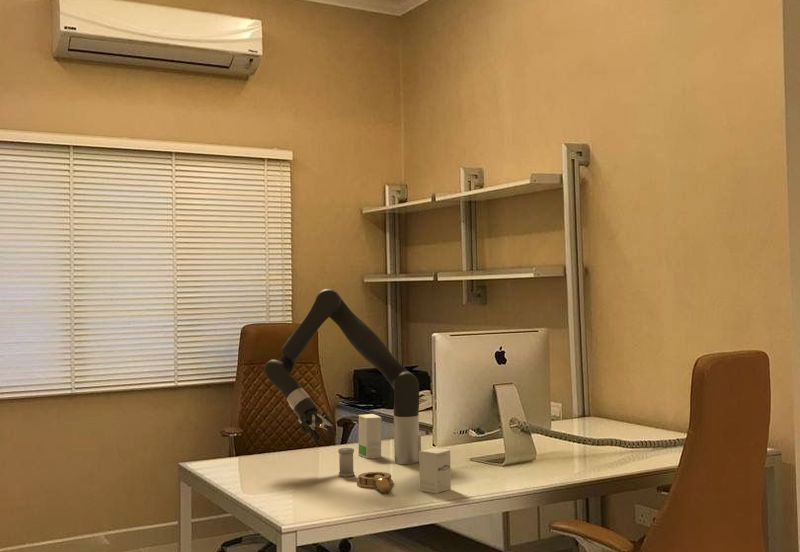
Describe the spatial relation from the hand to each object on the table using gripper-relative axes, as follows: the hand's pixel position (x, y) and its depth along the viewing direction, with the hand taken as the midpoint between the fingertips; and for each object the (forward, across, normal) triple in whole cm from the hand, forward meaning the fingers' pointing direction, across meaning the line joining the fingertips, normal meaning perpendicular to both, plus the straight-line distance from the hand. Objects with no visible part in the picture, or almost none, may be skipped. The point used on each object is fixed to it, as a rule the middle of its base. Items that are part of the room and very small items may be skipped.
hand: (327, 438), depth 295 cm
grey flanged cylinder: (+14, 0, +3) cm, 15 cm away
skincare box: (+6, +32, +12) cm, 34 cm away
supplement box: (+41, -3, -24) cm, 48 cm away
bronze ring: (+28, -8, -11) cm, 31 cm away
